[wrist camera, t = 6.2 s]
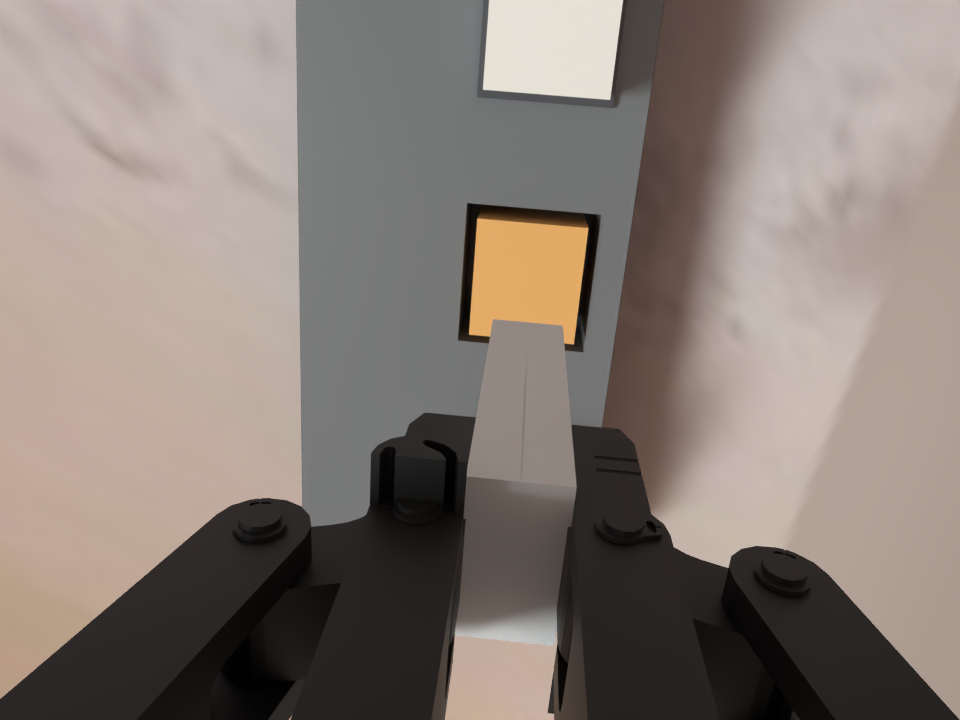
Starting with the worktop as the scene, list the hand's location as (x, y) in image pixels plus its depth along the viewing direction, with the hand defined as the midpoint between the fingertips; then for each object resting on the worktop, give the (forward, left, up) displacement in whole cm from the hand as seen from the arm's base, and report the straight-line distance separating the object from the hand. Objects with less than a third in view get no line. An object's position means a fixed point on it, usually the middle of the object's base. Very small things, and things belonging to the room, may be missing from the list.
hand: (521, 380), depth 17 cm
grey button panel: (0, -3, -14) cm, 14 cm away
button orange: (0, 0, -12) cm, 12 cm away
